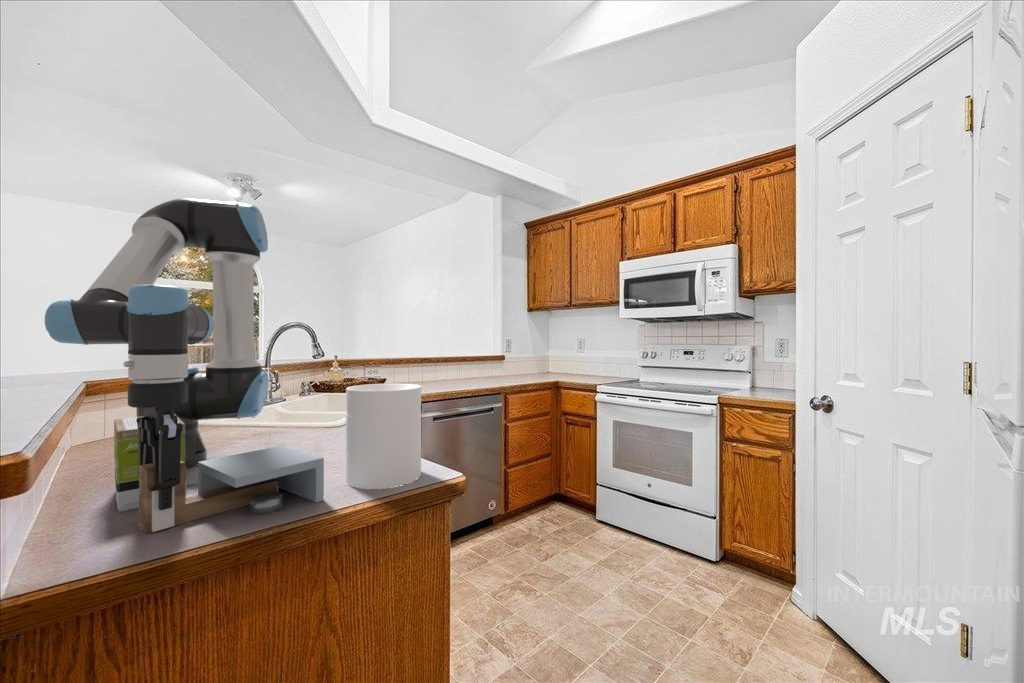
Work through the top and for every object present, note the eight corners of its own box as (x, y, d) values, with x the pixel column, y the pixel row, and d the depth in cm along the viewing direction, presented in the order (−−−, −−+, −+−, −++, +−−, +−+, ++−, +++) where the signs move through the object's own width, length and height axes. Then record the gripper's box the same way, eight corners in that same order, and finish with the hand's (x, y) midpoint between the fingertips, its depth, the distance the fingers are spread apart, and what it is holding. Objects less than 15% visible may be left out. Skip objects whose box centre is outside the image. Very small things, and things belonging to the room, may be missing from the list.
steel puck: (244, 511, 75) (244, 497, 75) (274, 503, 80) (274, 489, 80) (257, 518, 73) (257, 504, 73) (287, 509, 77) (287, 495, 77)
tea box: (113, 491, 85) (113, 417, 85) (176, 480, 92) (176, 412, 92) (115, 513, 74) (116, 429, 74) (187, 498, 81) (187, 421, 81)
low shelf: (198, 505, 78) (198, 461, 78) (281, 483, 90) (281, 445, 90) (235, 528, 68) (235, 478, 68) (323, 500, 81) (323, 457, 81)
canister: (436, 474, 97) (436, 386, 97) (379, 495, 83) (379, 393, 83) (388, 462, 105) (389, 382, 105) (330, 480, 92) (330, 388, 92)
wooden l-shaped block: (139, 527, 69) (139, 465, 69) (268, 491, 85) (268, 441, 85) (146, 533, 66) (146, 469, 66) (278, 496, 83) (278, 444, 83)
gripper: (113, 379, 71) (113, 519, 71) (145, 385, 61) (144, 548, 61) (169, 376, 77) (169, 505, 77) (206, 382, 67) (205, 530, 67)
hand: (158, 524), depth 69 cm, fingers closed on wooden l-shaped block, 4 cm apart
